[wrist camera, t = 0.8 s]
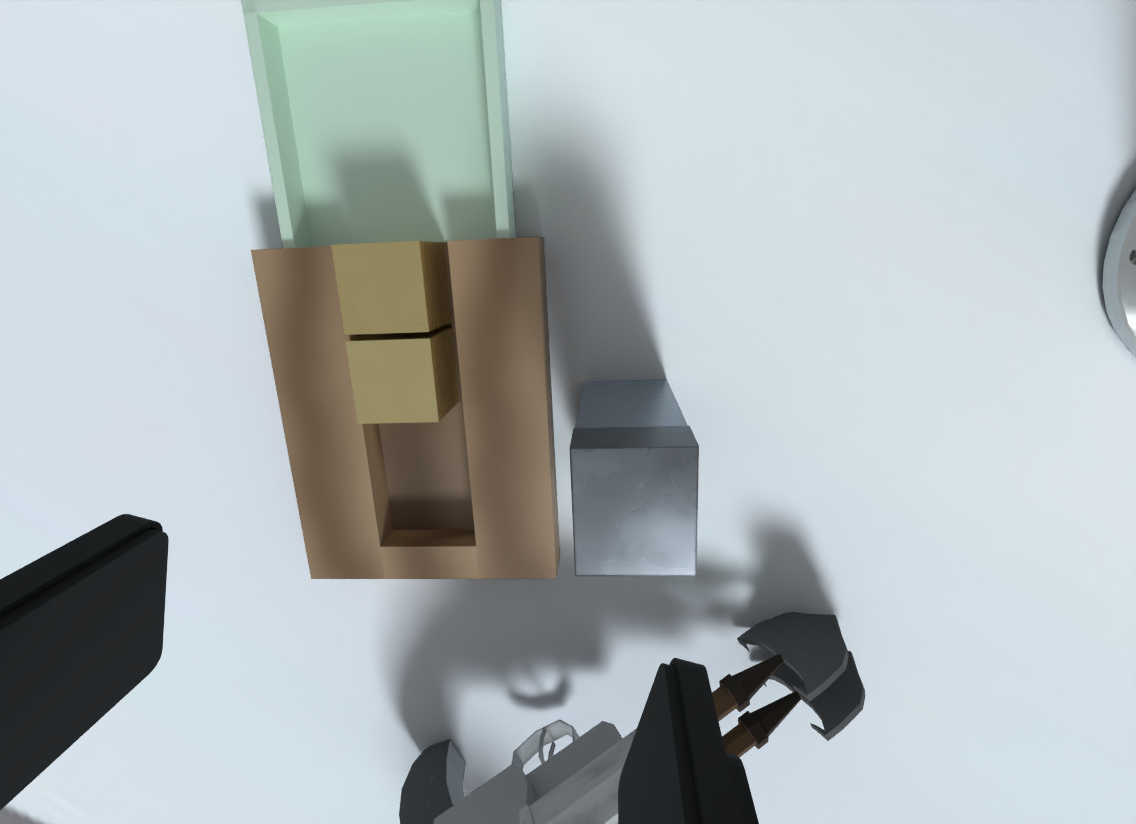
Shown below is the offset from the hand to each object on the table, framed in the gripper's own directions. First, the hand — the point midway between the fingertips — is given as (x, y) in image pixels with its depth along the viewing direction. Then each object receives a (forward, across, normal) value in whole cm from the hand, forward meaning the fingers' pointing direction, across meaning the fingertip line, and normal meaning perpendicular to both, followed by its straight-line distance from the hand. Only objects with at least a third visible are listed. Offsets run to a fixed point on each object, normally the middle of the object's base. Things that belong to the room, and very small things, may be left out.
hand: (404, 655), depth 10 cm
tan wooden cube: (+21, +8, -4) cm, 23 cm away
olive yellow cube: (+21, +7, 0) cm, 22 cm away
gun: (+22, -9, +18) cm, 30 cm away
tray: (+21, +10, -10) cm, 26 cm away
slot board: (+21, +6, +3) cm, 22 cm away
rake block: (+21, -5, +1) cm, 22 cm away
